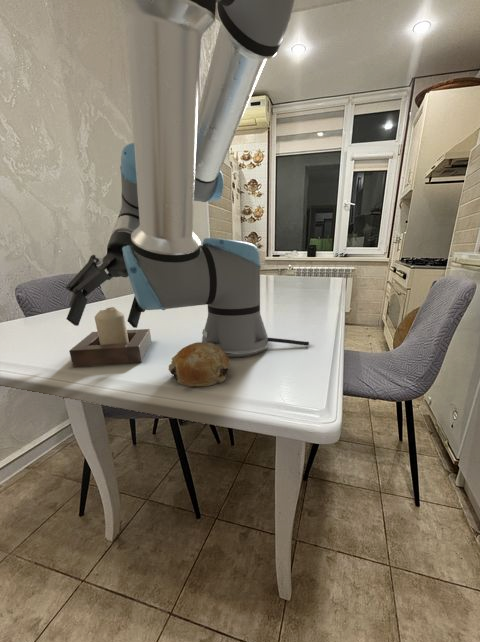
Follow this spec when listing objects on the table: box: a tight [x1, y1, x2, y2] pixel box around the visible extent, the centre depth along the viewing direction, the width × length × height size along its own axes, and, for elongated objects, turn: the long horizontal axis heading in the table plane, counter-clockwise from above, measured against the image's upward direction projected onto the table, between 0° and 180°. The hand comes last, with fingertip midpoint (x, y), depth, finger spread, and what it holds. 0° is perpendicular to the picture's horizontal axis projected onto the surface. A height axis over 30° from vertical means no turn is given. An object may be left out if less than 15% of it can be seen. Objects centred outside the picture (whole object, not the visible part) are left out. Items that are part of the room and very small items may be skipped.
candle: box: [94, 306, 129, 345], centre depth 62 cm, size 6×6×10 cm
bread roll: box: [168, 341, 230, 388], centre depth 52 cm, size 10×10×8 cm
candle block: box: [68, 328, 153, 368], centre depth 63 cm, size 13×13×4 cm
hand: (102, 323), depth 59 cm, fingers open, 12 cm apart
